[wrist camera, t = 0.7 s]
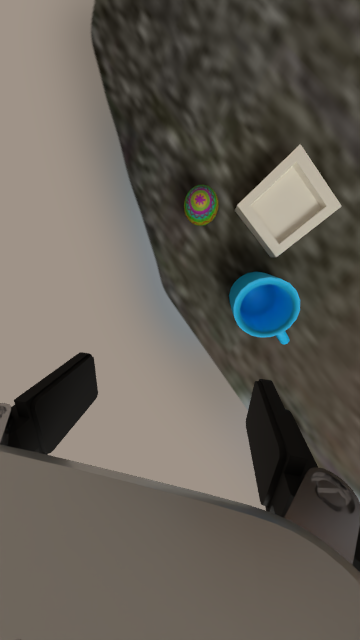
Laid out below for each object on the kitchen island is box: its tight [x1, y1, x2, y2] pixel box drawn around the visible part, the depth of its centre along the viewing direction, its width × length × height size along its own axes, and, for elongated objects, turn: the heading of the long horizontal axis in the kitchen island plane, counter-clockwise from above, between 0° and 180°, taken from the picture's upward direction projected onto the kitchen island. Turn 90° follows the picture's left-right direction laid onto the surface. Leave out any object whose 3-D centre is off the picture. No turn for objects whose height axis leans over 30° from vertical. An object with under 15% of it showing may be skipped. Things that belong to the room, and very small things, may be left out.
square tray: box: [235, 144, 341, 257], centre depth 26 cm, size 9×9×3 cm
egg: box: [184, 185, 218, 226], centre depth 26 cm, size 5×5×6 cm
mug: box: [229, 272, 300, 344], centre depth 28 cm, size 12×8×8 cm
